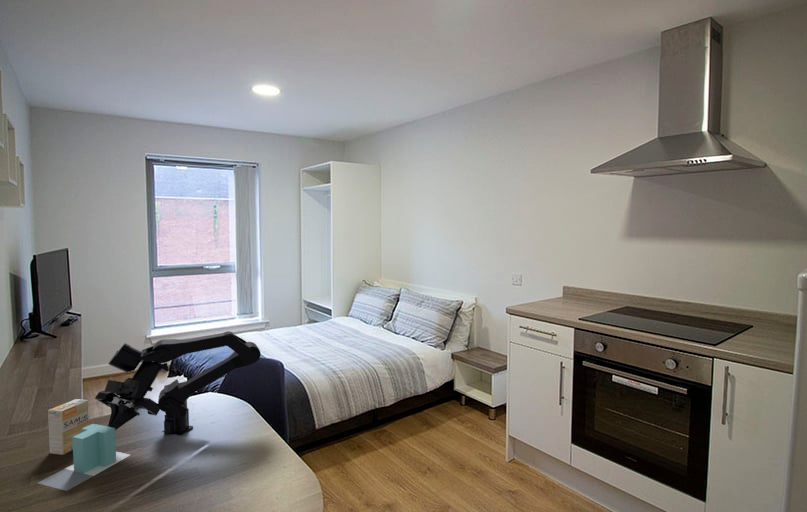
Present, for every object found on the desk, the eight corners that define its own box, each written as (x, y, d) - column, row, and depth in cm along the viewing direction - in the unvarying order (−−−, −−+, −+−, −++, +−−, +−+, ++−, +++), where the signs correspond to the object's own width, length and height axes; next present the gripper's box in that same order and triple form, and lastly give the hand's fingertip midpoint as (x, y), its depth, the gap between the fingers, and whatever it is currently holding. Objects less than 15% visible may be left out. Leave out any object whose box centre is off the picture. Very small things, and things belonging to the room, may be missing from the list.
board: (103, 451, 122) (103, 448, 122) (131, 457, 119) (130, 454, 119) (37, 485, 106) (37, 482, 106) (66, 493, 103) (66, 490, 103)
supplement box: (63, 457, 119) (61, 411, 118) (49, 455, 120) (46, 409, 119) (90, 443, 127) (88, 399, 126) (77, 441, 128) (75, 398, 127)
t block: (94, 455, 119) (92, 423, 118) (116, 460, 116) (115, 428, 116) (67, 469, 112) (65, 435, 111) (90, 475, 110) (89, 440, 109)
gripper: (99, 363, 125) (61, 416, 116) (149, 370, 119) (113, 427, 110) (126, 380, 133) (91, 431, 124) (174, 388, 128) (142, 442, 118)
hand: (108, 433), depth 119 cm, fingers closed
